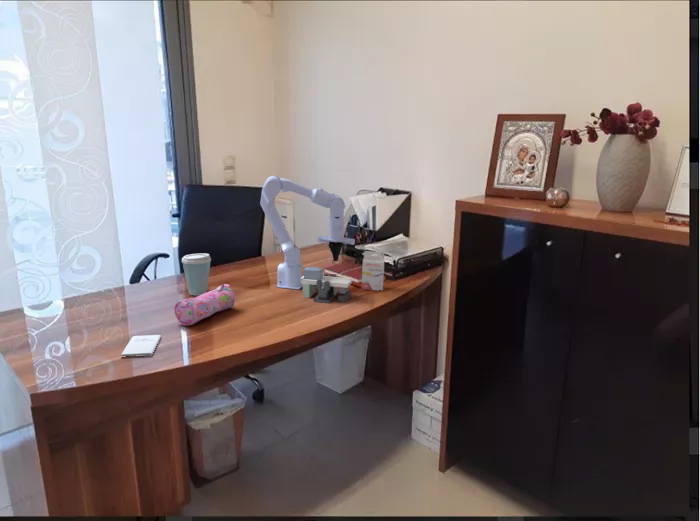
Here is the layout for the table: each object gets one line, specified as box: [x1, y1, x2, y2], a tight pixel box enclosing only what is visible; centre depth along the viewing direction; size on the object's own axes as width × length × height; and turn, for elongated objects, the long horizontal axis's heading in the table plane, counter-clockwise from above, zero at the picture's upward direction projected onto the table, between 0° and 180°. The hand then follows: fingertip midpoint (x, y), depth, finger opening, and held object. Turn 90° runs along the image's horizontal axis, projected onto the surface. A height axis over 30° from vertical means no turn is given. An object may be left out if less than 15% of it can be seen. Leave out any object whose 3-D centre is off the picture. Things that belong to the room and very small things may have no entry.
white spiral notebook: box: [120, 334, 162, 357], centre depth 143 cm, size 2×8×12 cm
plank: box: [301, 275, 353, 294], centre depth 186 cm, size 18×10×4 cm, turn 75°
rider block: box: [303, 266, 324, 280], centre depth 187 cm, size 6×4×4 cm
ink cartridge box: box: [361, 250, 385, 292], centre depth 196 cm, size 9×5×15 cm, turn 84°
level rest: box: [302, 284, 316, 299], centre depth 189 cm, size 2×7×6 cm, turn 165°
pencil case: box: [174, 283, 236, 326], centre depth 166 cm, size 21×9×9 cm, turn 152°
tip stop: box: [337, 290, 352, 303], centre depth 186 cm, size 3×7×2 cm, turn 165°
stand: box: [313, 273, 340, 304], centre depth 187 cm, size 6×13×8 cm, turn 165°
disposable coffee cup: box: [181, 252, 212, 297], centre depth 187 cm, size 11×11×15 cm
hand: (335, 260), depth 198 cm, fingers closed
